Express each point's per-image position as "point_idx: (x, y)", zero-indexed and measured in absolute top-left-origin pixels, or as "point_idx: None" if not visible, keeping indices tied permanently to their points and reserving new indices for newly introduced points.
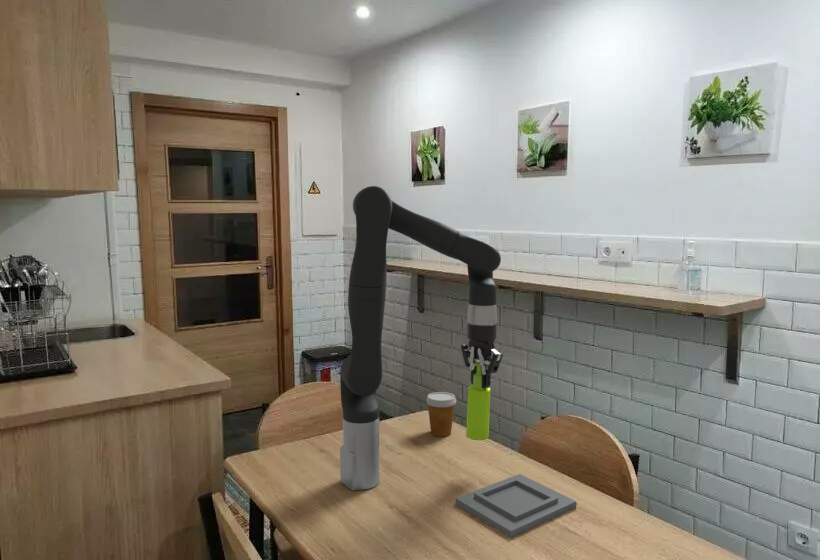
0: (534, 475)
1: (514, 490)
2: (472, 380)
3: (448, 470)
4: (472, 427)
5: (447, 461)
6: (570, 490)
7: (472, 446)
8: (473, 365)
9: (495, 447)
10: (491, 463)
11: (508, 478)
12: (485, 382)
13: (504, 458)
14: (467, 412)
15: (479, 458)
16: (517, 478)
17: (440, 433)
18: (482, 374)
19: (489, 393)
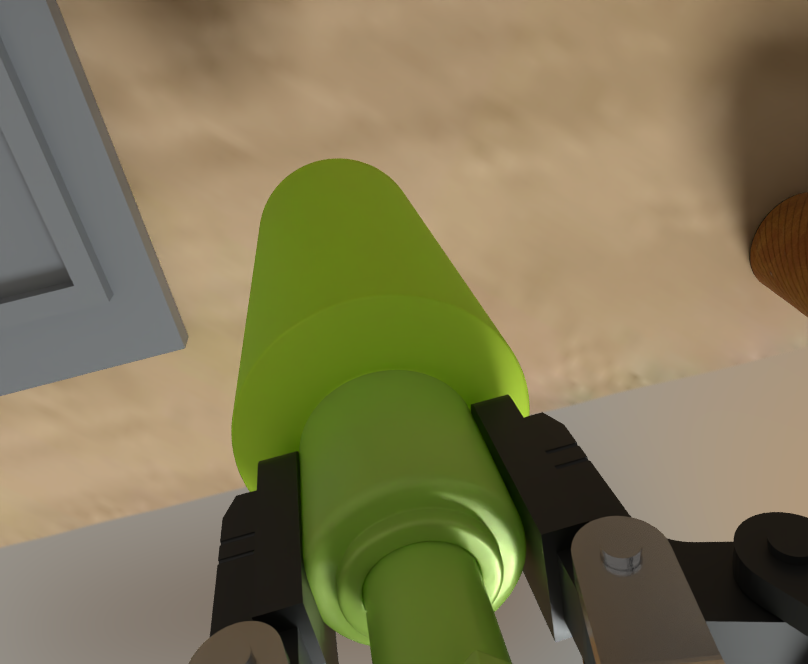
0: (206, 412)
1: (8, 234)
2: (499, 428)
3: (410, 55)
4: (295, 191)
5: (507, 107)
6: (23, 474)
7: (590, 308)
8: (595, 639)
9: None
10: None
11: (152, 275)
12: (241, 539)
13: None
14: (384, 207)
15: (463, 276)
16: (93, 301)
17: (775, 222)
18: (299, 611)
19: None
